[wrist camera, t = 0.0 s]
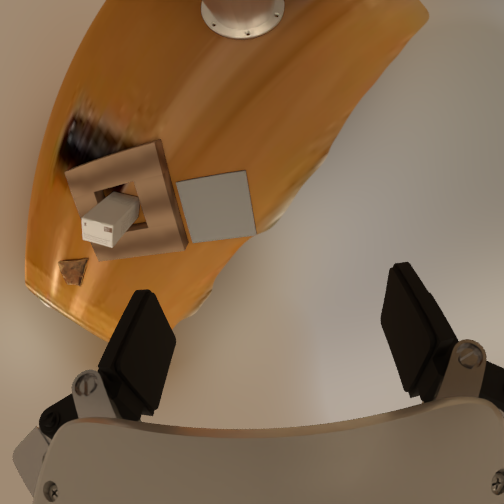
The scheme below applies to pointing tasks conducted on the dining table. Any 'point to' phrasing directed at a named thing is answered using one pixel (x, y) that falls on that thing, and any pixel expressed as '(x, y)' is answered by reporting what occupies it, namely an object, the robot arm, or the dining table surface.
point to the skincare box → (110, 219)
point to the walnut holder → (150, 196)
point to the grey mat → (217, 206)
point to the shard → (73, 271)
